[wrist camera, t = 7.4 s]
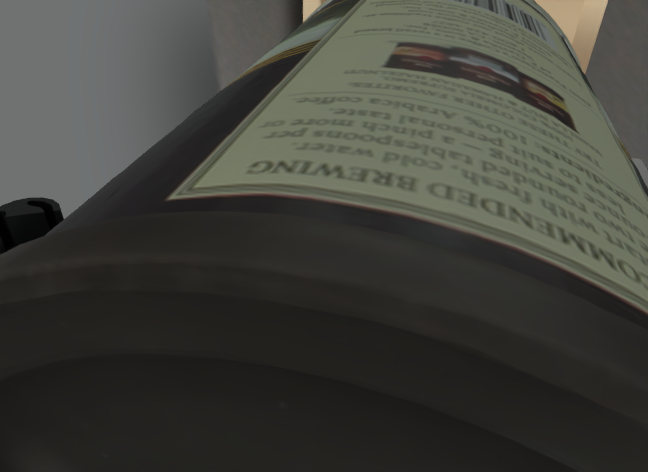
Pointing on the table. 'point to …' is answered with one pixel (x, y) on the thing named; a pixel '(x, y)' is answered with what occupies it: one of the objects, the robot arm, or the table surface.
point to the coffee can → (350, 268)
